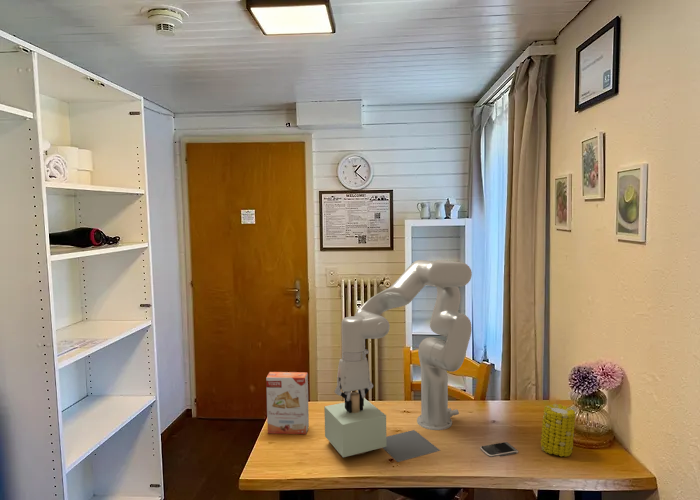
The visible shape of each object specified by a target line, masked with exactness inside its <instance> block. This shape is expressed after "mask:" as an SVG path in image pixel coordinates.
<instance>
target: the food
mask: <svg viewBox="0 0 700 500" xmlns="http://www.w3.org/2000/svg"><path fill="white" fill-rule="evenodd" d="M541 421H542V423H541V435H540V436H541V437H540V443H541V444H540V447H541V451H543V452H545V453H546V454H547V453H548V454H549V455H556V456H560V457H566V458H567V457H569V456H571V454H572V453H573V449H574V448H573V447H574V437H575V424H576V412H575V410H574V409H572V408H571V407H567V406H566V405H562V404H561V403H559V404H558V403H553V404H548V405H545V406H544V407H543V416H542V419H541Z"/></svg>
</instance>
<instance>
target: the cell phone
mask: <svg viewBox="0 0 700 500" xmlns="http://www.w3.org/2000/svg"><path fill="white" fill-rule="evenodd" d="M479 449H480V451H482V452H483V453H484V455H486V456H488V457H490V458H493V457H505V456H510V455H515V454H518V453H519V450H518V449H516V448H515V447H514V446H513V445H511V444H510V443H509V441H504V442H497V443H493V444H487V445H481V446H480V447H479Z"/></svg>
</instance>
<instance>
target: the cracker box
mask: <svg viewBox="0 0 700 500" xmlns="http://www.w3.org/2000/svg"><path fill="white" fill-rule="evenodd" d="M308 377H309V374H308V372H301V371H300V372H297V371H289V372H288V371H269V372H268V374H267V376H266V380H265V381H266V383H265V384H266V417H267V418H266V419H267V421H266V422H267V423H266V424H267V434H274V435H275V434H277V435H279V434H281V435H283V434H284V435H307V433H308V430H309V427H310V426H309V425H310V424H309V422H310V421H309V417H310V416H309V384H308V383H309V381H308V380H309V379H308Z"/></svg>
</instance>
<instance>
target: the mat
mask: <svg viewBox="0 0 700 500" xmlns="http://www.w3.org/2000/svg"><path fill="white" fill-rule="evenodd" d="M382 449H383V450H384V451H385V452H386V453H387V454H388V455H390V457H391V458H393V459H394V461H396V462H397V463H400V462H404V461H408V460H411V459H414V458H418V457H419V458H420V457H422V456H425V455H430V454H433V453H437V452H440V451H441V449H440V448H438V447H436V446H435V445H434V444H433V443H432V442H430V441H429V440H428V439H427V438H425V437H424V436H423V435H422V434H420V433H419V432H417V431H416V430H415V429H412V430H408V431H405V432H400V433H399V432H398V433H396V434H393V435H386V447H383V448H382Z"/></svg>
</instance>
